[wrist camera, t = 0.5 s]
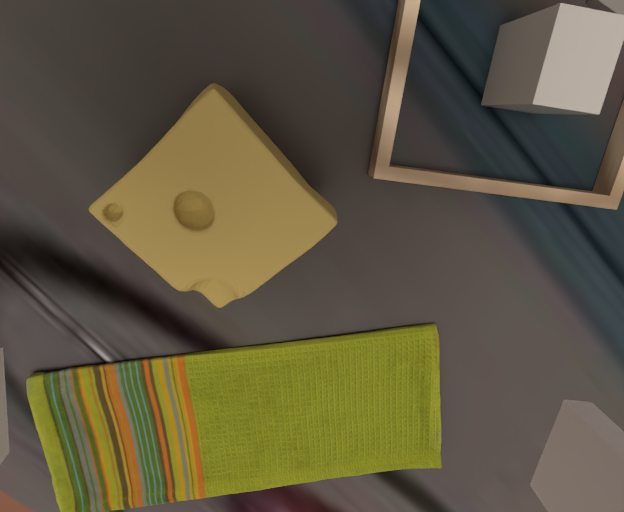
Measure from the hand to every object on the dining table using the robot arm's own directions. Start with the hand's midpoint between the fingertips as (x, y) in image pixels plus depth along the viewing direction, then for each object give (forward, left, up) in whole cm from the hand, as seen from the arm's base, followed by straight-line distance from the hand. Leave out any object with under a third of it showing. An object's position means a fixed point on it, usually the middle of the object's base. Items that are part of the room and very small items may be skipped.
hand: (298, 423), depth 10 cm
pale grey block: (-12, +16, -25) cm, 33 cm away
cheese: (-1, -4, -26) cm, 26 cm away
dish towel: (+20, -1, -26) cm, 33 cm away
